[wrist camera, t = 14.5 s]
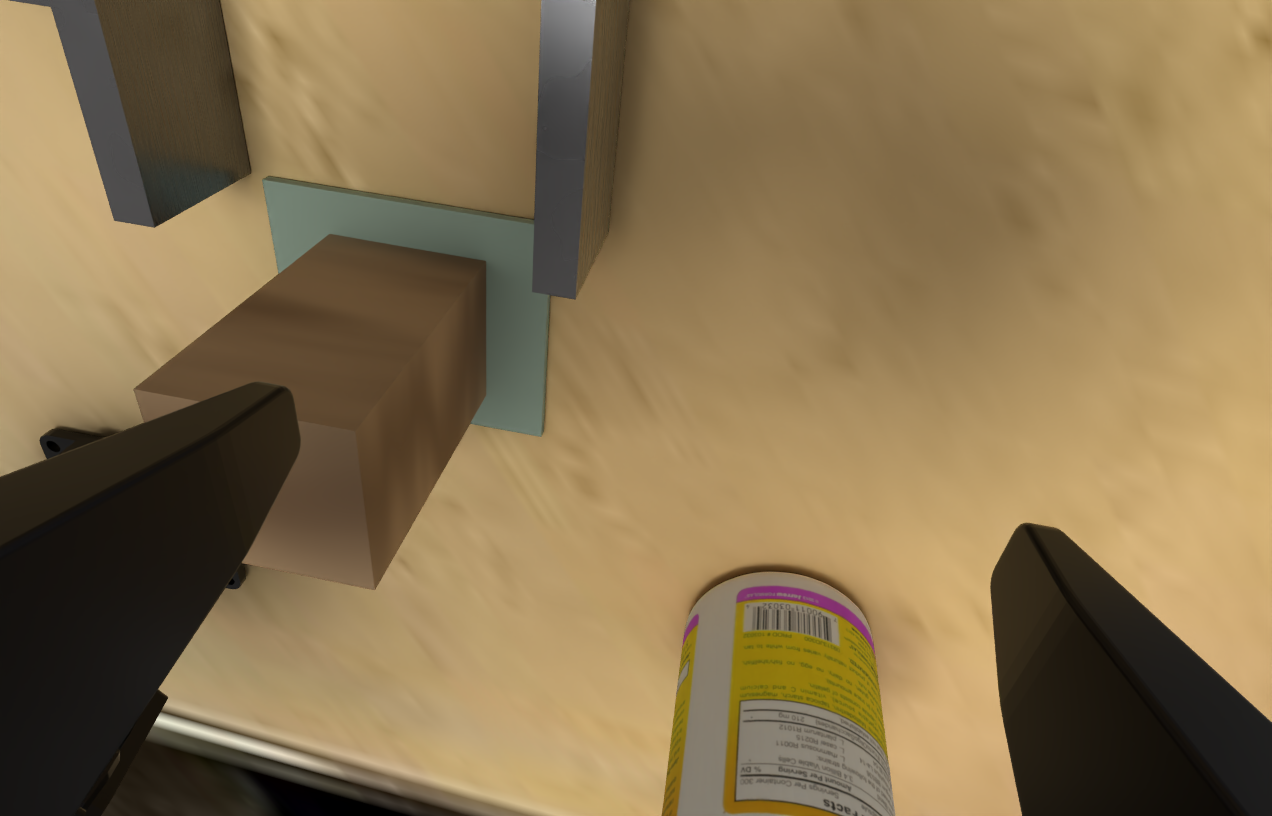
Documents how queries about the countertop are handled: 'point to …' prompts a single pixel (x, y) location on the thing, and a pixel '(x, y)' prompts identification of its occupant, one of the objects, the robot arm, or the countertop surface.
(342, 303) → the walnut block
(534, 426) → the mat
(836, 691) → the supplement bottle
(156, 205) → the bent rails
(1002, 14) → the countertop surface
